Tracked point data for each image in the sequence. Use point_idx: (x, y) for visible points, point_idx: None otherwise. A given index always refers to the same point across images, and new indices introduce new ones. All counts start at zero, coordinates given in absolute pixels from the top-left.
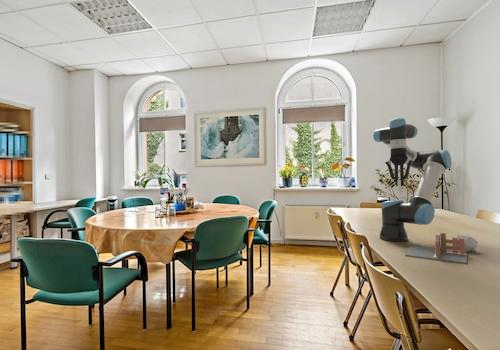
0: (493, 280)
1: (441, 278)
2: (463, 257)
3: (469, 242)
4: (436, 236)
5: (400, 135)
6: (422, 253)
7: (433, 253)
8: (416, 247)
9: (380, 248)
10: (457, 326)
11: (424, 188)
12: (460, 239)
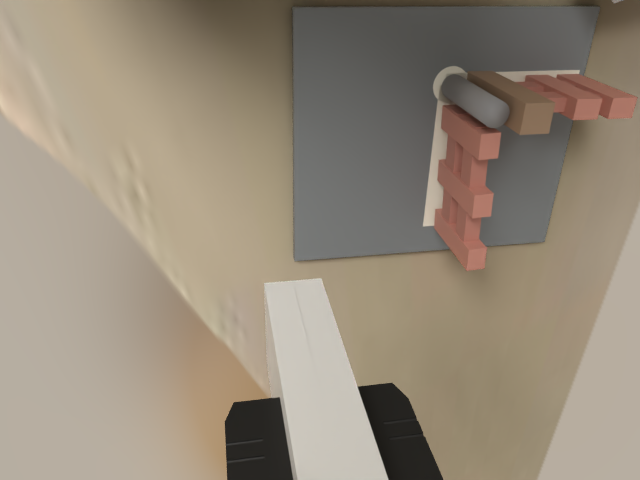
0: (573, 369)
1: (436, 437)
2: (552, 155)
3: None
4: (485, 124)
5: None
6: (371, 189)
7: (424, 155)
8: (327, 52)
9: (123, 177)
10: None
11: None
12: (610, 116)
